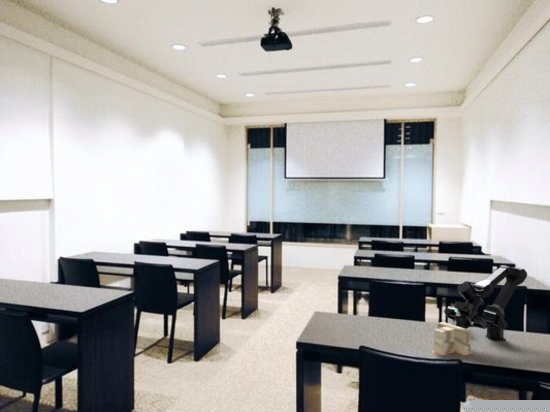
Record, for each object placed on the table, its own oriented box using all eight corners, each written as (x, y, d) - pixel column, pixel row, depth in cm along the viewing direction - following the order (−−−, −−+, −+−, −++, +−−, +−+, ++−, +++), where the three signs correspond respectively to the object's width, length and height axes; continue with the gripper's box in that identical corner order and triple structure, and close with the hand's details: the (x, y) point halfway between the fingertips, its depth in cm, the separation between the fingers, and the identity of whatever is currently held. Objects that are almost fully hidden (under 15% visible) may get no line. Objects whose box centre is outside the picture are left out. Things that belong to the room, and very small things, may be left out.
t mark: (441, 342, 185) (441, 342, 185) (472, 353, 172) (472, 353, 172) (421, 348, 178) (421, 347, 178) (452, 360, 165) (452, 359, 165)
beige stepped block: (442, 342, 185) (443, 321, 184) (470, 352, 173) (470, 330, 172) (424, 347, 178) (425, 326, 178) (452, 358, 166) (452, 335, 166)
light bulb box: (466, 333, 198) (466, 312, 197) (452, 332, 199) (452, 311, 199) (460, 326, 208) (460, 306, 208) (447, 326, 209) (447, 306, 209)
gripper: (446, 291, 189) (431, 316, 184) (483, 299, 173) (468, 328, 168) (456, 305, 193) (441, 330, 188) (493, 314, 177) (478, 343, 172)
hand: (456, 332), depth 179 cm, fingers closed
